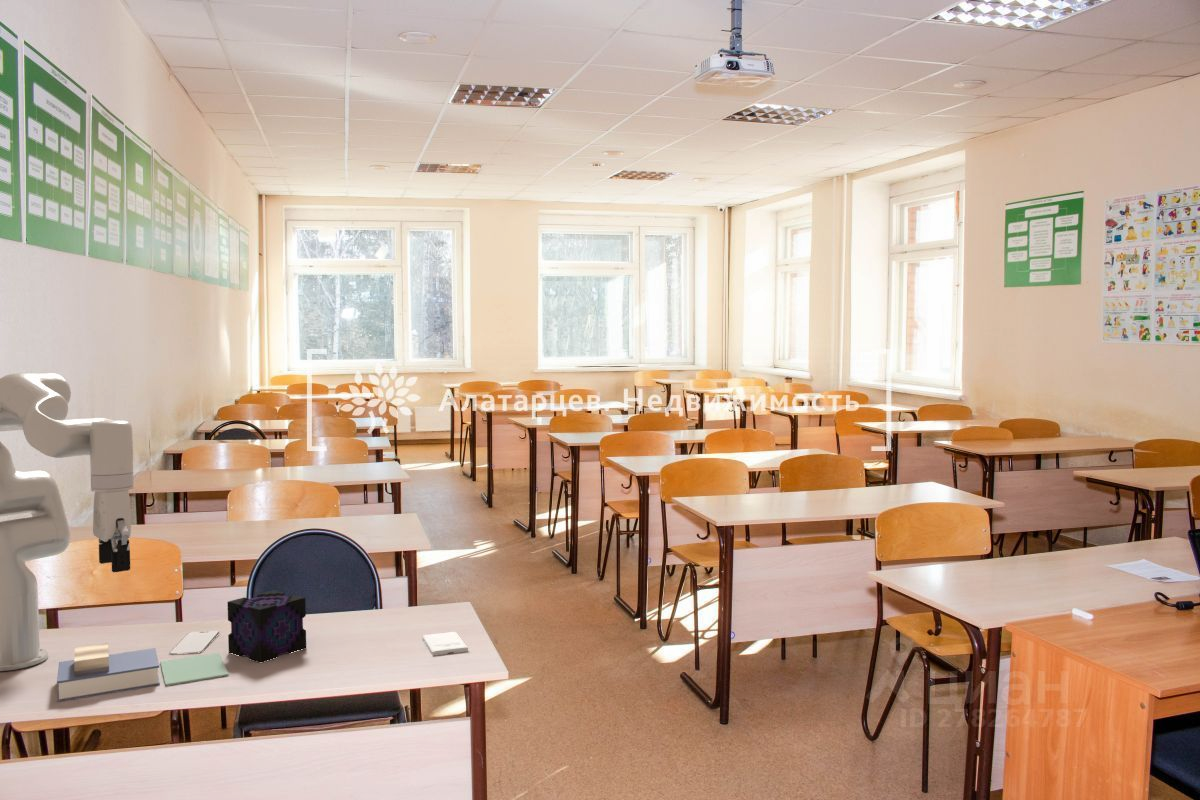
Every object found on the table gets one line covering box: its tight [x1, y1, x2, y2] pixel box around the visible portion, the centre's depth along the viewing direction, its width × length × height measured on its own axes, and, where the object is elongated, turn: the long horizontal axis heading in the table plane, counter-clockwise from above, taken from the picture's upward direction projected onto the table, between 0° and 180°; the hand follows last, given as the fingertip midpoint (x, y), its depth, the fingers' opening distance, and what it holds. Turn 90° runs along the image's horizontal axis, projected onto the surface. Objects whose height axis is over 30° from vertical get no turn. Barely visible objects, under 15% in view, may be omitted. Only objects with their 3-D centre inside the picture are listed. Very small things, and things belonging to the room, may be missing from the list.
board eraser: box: [73, 642, 110, 676], centre depth 184 cm, size 10×6×3 cm, turn 30°
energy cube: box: [227, 589, 307, 663], centre depth 205 cm, size 12×12×12 cm
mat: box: [160, 652, 229, 687], centre depth 193 cm, size 16×12×1 cm
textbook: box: [56, 647, 161, 702], centre depth 185 cm, size 13×18×4 cm
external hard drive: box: [422, 631, 469, 657], centre depth 209 cm, size 2×8×12 cm
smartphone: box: [168, 630, 220, 655], centre depth 211 cm, size 7×1×15 cm
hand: (114, 566), depth 180 cm, fingers open, 9 cm apart
